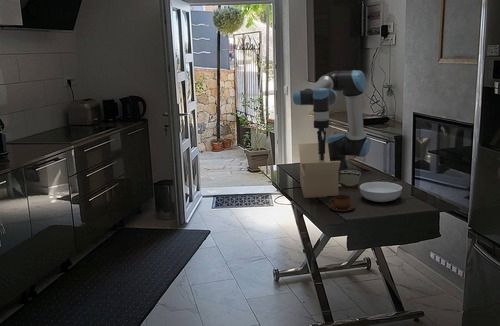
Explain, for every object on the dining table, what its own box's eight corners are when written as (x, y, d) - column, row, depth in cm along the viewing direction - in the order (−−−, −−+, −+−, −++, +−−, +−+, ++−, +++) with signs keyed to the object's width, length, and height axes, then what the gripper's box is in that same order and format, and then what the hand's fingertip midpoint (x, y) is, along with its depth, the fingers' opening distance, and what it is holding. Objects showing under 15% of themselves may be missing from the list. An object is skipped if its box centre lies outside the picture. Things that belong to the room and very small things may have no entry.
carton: (331, 182, 279) (330, 162, 277) (338, 196, 252) (338, 174, 249) (300, 183, 280) (299, 163, 277) (304, 197, 253) (303, 175, 250)
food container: (363, 187, 266) (363, 170, 263) (360, 190, 260) (360, 172, 258) (341, 186, 271) (341, 168, 268) (338, 189, 265) (338, 171, 263)
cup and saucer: (331, 213, 227) (331, 201, 225) (328, 206, 238) (327, 194, 237) (357, 212, 227) (357, 200, 225) (352, 204, 238) (352, 192, 237)
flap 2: (340, 160, 238) (340, 161, 237) (337, 174, 249) (337, 175, 249) (305, 162, 238) (305, 163, 238) (304, 175, 250) (304, 176, 250)
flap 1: (330, 162, 277) (330, 162, 277) (327, 142, 284) (327, 143, 285) (300, 163, 277) (300, 163, 278) (298, 143, 285) (298, 144, 285)
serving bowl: (410, 200, 240) (411, 187, 238) (380, 209, 230) (380, 195, 228) (380, 191, 257) (380, 178, 256) (350, 198, 248) (350, 185, 246)
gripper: (312, 118, 244) (313, 163, 249) (314, 122, 231) (315, 169, 237) (327, 117, 243) (327, 162, 249) (330, 121, 231) (331, 168, 236)
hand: (321, 165), depth 243 cm, fingers closed
